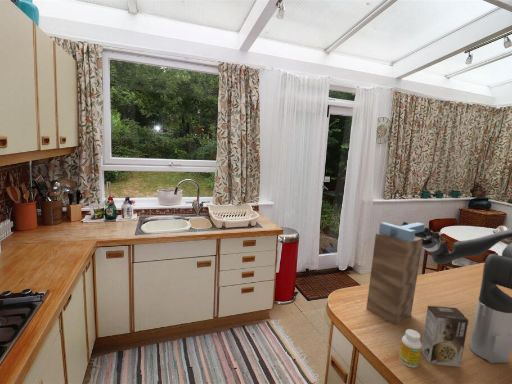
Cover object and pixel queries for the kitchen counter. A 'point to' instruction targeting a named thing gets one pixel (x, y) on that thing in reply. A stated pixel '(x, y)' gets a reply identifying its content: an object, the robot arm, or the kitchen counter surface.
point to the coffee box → (444, 336)
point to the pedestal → (393, 277)
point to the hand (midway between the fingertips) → (414, 226)
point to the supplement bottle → (410, 348)
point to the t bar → (401, 230)
